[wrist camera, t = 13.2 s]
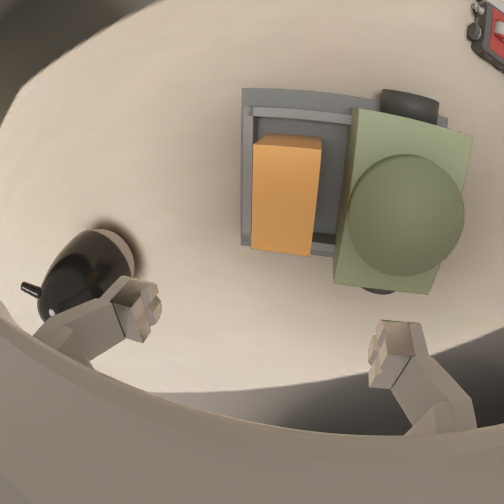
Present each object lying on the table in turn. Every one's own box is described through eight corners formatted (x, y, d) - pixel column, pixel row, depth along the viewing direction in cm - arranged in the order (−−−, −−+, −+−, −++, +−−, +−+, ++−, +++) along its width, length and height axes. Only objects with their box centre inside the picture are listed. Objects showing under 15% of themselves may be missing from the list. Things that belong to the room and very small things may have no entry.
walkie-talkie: (551, 54, 10) (410, -43, 11) (572, 55, 6) (422, -60, 8) (544, 112, 15) (401, 16, 16) (567, 118, 11) (414, 4, 12)
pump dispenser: (97, 202, 33) (12, 262, 21) (156, 249, 35) (83, 330, 22) (83, 252, 39) (17, 312, 26) (133, 293, 40) (75, 366, 27)
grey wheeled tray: (445, 107, 19) (491, 115, 12) (409, 270, 28) (428, 323, 21) (244, 78, 23) (211, 71, 16) (243, 248, 32) (218, 297, 25)
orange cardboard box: (320, 137, 23) (321, 150, 17) (312, 222, 27) (309, 259, 22) (270, 132, 24) (253, 144, 18) (267, 216, 28) (251, 252, 22)
